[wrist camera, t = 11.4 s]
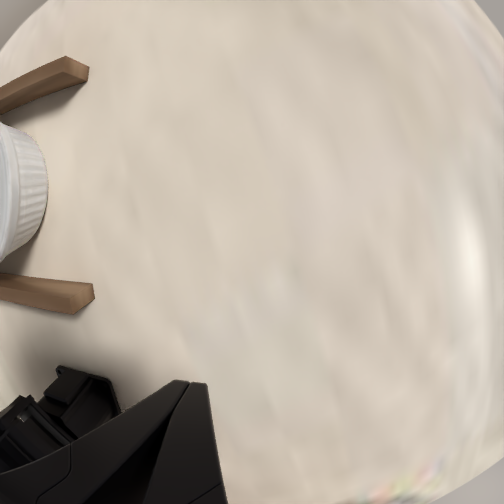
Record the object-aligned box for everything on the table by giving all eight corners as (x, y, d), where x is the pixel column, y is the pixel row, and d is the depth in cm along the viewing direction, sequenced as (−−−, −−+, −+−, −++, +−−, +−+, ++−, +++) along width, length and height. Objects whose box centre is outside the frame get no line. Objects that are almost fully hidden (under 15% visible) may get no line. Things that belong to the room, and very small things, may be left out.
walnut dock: (94, 298, 20) (72, 314, 17) (-10, 282, 21) (-29, 291, 19) (89, 66, 16) (65, 55, 13) (-18, 113, 17) (-39, 112, 14)
